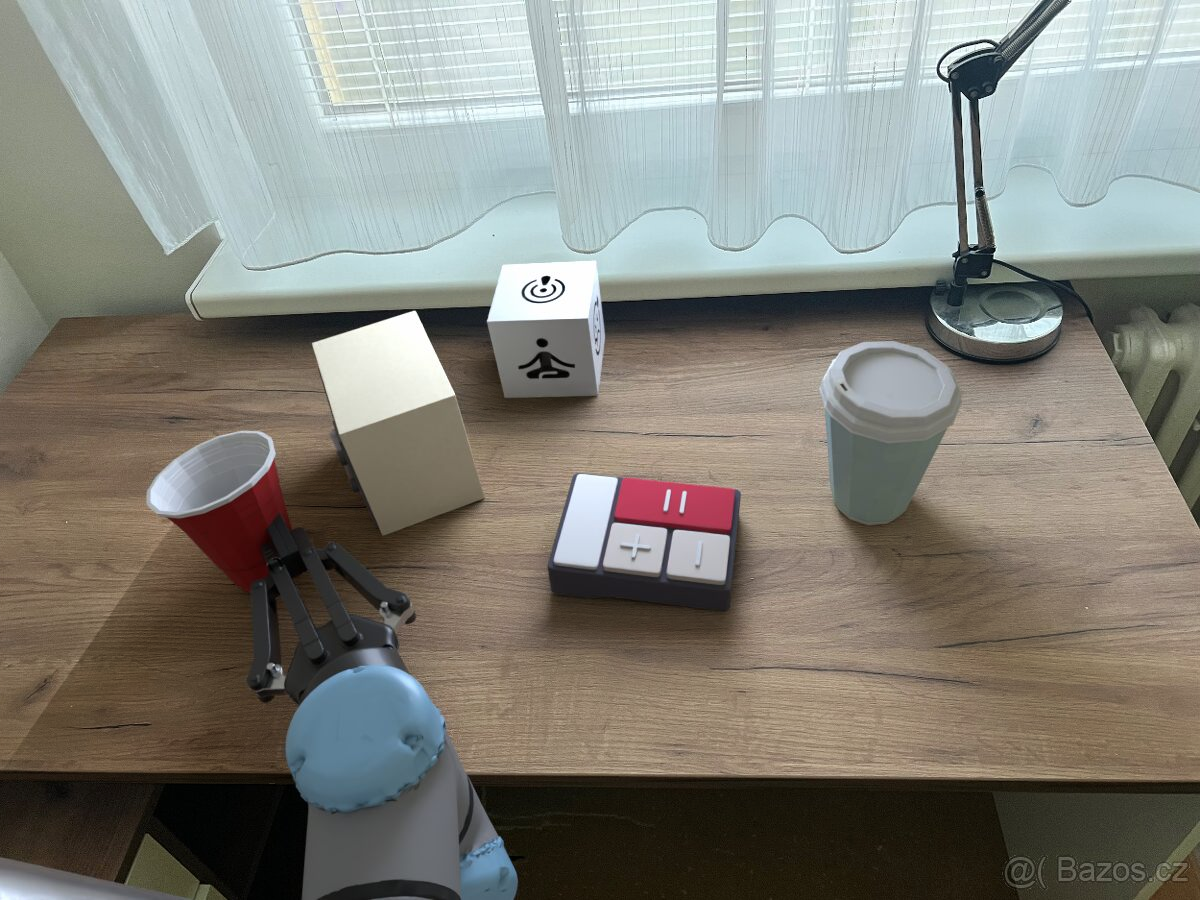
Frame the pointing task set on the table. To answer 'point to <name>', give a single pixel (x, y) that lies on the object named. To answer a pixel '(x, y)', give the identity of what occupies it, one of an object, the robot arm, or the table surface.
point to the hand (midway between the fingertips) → (272, 516)
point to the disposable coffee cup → (884, 425)
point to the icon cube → (548, 329)
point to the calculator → (646, 541)
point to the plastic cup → (224, 501)
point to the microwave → (397, 423)
